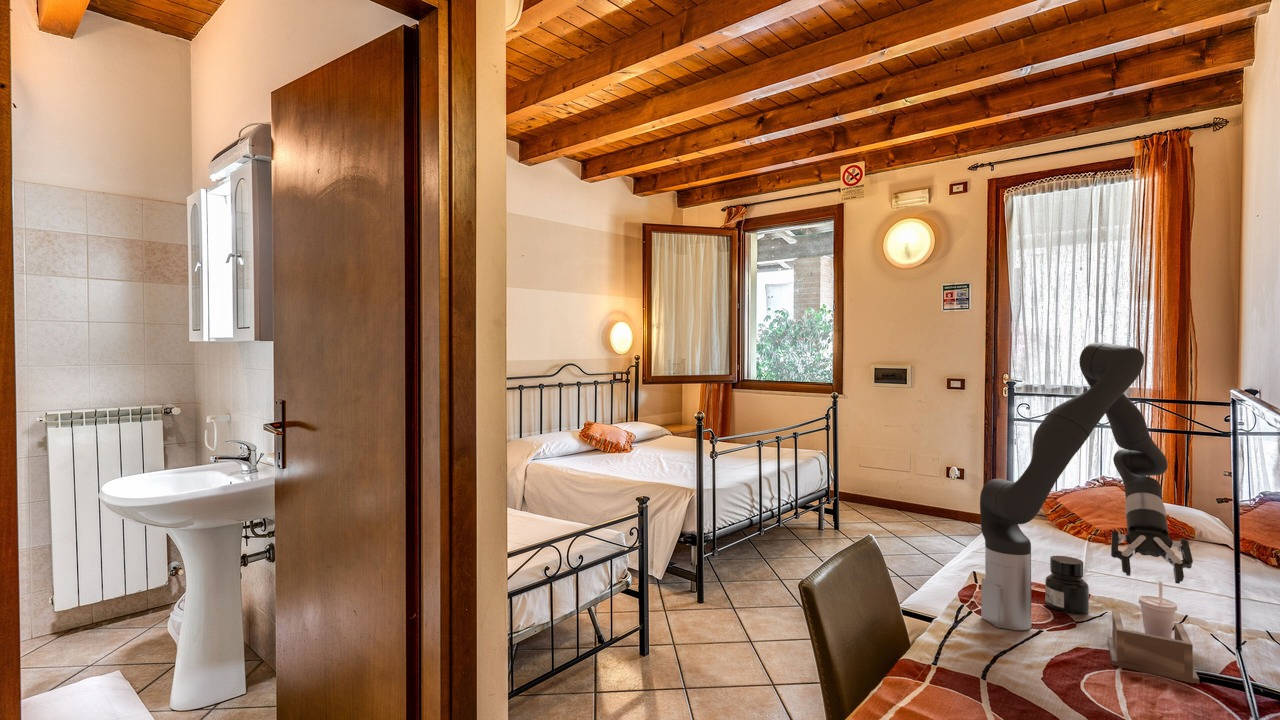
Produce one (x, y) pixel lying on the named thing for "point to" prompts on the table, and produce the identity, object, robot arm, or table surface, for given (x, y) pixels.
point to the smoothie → (1158, 614)
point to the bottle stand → (1152, 652)
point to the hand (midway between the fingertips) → (1152, 577)
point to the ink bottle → (1067, 586)
